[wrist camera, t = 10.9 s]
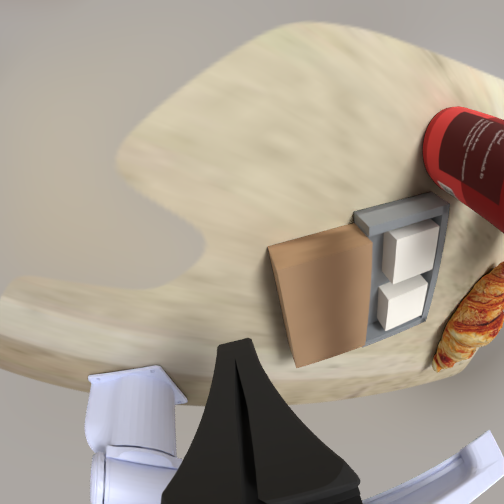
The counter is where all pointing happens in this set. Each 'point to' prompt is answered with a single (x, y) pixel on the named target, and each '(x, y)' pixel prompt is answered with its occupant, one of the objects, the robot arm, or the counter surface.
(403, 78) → the counter surface
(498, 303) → the croissant
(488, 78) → the counter surface
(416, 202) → the tray
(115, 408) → the robot arm
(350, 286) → the board
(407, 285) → the tile
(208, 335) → the counter surface
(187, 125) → the counter surface
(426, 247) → the tile
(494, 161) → the canned food
